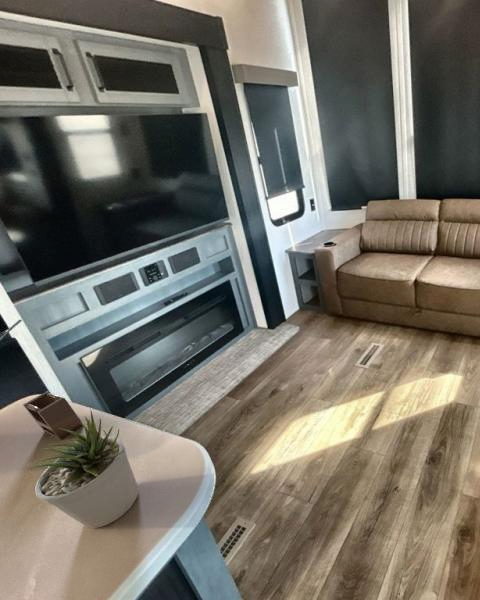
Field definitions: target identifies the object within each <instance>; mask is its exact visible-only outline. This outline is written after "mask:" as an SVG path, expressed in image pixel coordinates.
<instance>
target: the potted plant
mask: <svg viewBox="0 0 480 600" xmlns="http://www.w3.org/2000/svg"><path fill="white" fill-rule="evenodd" d="M89 411H90V419H88V417H86V416H84V419H85V421H86V425H85V424H84V423H83V421H82V422H80V423H81V424H82V425H83V426H82V427H83V428H84V431H85V435H84V434H82V433H79V432H76V431H74V432H73V431H70V430H66V429H62V430H65V431H67V432H69V433H71V434H72V435H73V436H74V437H76V438H72V439H70V441H74V442H61V443H52V444H51V443H50V444H47V445H46V447H47V448H41V450H43V451H44V450H45V451H51V452H54V453H57V454H54V455H51V456H48V457H44V458H41V459H39V460H38V461H37V462H38V463H37V464H38V465H35V466H31V467H29V468H28V470H29V469H35V468H36V469H37V468H42V467H43V468H44V467H47V468H46V469H45V470H44V471H43V472H42V474H41V475H40V477H39V478H38V480H37V482H36V484H35V486H34V493H35V496H36V498H38V499H39V500H41V501H43V502H44V503H46V504H49V505H51V506H53V507H54V508H56V509H58V510H59V511H61V512H63V513H64V514H66V515H67V516H68V517H70V518H71V519H74V520H75V521H76V522H78V523H79V524H82V525H83V526H85V527H87V528H90V529H96V528H102V527H105V526H107V525H109V524H111V523H113V522H115V521H117V520H118V519H120V518H121V517H122V516H124V515H125V514H126V512H128V511H129V510H130V508H131V507H133V505H134V503H135V501H136V499H137V498H138V495H139V487H138V483H137V480H136V477H135V474H134V472H133V469H132V467H131V464H130V462H129V461H130V460H129V459H128V456H127V451H126V447H125V445H124V443H123V441H122V439H120V437H119V434H120V429H118V430H117V433H116V436H110V435H111V433H112V431H113V428H114V426H113V425H112V426H111V427H110V429H109V430H108V432H107V433H106V430H104V429H103V432H104V435H105V436H102V435H101V431H102V419H101V418H99V425H98V428H97V426H96V423H95V420H94V415H93V411H92V409H90V410H89ZM86 426H87V427H86ZM59 429H61V428H59ZM97 429H98V430H97ZM48 447H53V448H48ZM50 460H55V461H54V462H44V461H50Z"/></svg>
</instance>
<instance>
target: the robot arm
mask: <svg viewBox="0 0 480 600" xmlns="http://www.w3.org/2000/svg"><path fill="white" fill-rule="evenodd" d="M22 321H23V320H22V319H18V320H17V321H16V322H15V323H14V324H13V325H11V326H10V327H9V328H8V329H7V330H8V331H7V330H6V331H7V332H6V331H5V332H6V333H5V332H4V333H5V334H4V333H3V334H4V335H3V334H2V335H3V336H2V335H1V336H0V342H2V340H3V339H4V338H5V337H6V336H7V335H8V334H9V333H10V332H11V331H12V330H13V329H14V328H16V327H17V326H18V325H19V324H20V323H21V322H22Z"/></svg>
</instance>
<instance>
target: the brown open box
mask: <svg viewBox="0 0 480 600" xmlns="http://www.w3.org/2000/svg"><path fill="white" fill-rule="evenodd" d="M22 406H23V407H24V408H25V410H26V411H27V412H28V414H29V415H30V416H31V417H32V418H33V419H34V421H35V422H36V423H37V425H38V426H39V427H40V429H41V430H42V431H43V432H44V433H46V434H48V435H50V436H52V437H54V438H56V439H57V440H60V441H63V440H65V438H67V437H68V436H70V435H71V434H72V433H69V432H67V431H65V430H62V429H66V430H70V431H73V432H76V431H78V430H79V429H81V428H82V427H83V425H82V424H81V423H80V422H82V423H83V421H82V420H81V419H80V417H79V416H78V414H77V413H76V412H75V410H74V409H73V407H72V406H71V405H70V404H69V402H68V400H67V399H66V398H65V397H63V396H62V397H61V396H58V395H56V394H55V393H52V392H50V391H49V390H46V391H44V392H43V393H41V394H39V395H37V396H35V397H34V398H32V399H30V400H29V401H27V402H25V403H23V404H22ZM59 428H61V429H59Z"/></svg>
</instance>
